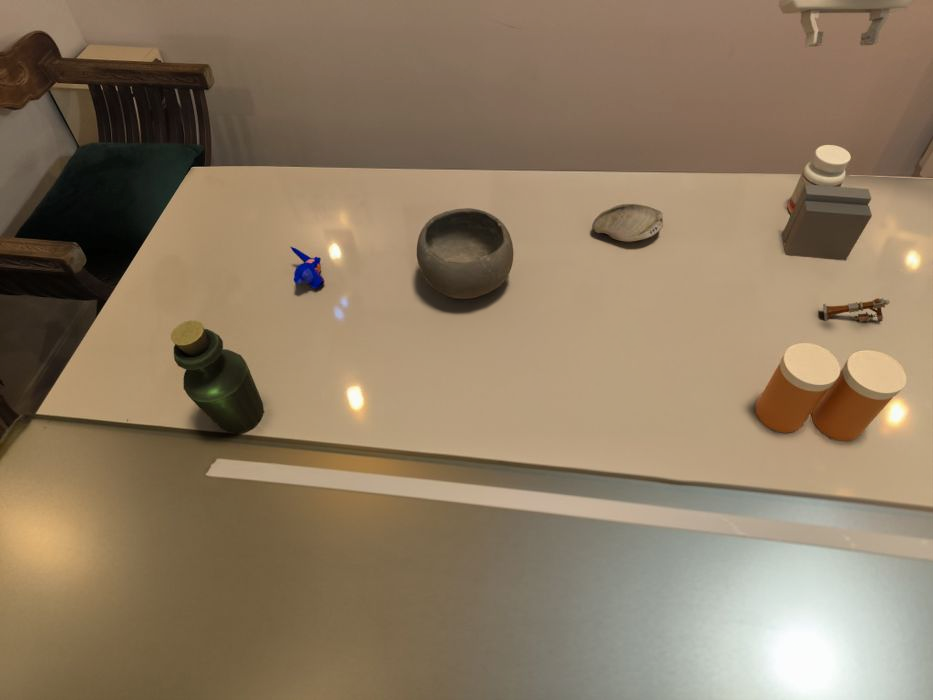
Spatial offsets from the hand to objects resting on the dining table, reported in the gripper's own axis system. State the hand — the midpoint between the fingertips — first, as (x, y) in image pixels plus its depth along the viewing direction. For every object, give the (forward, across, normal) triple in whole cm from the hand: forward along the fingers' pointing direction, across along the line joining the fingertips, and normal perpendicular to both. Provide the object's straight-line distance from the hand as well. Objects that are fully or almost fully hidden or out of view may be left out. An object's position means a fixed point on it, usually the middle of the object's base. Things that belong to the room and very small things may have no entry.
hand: (841, 45), depth 92 cm
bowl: (+33, -58, +7) cm, 67 cm away
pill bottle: (+25, +2, +5) cm, 26 cm away
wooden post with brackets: (+39, -5, -14) cm, 41 cm away
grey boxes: (+30, -2, -2) cm, 30 cm away
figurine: (+32, -83, +14) cm, 90 cm away
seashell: (+27, -29, +9) cm, 41 cm away
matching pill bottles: (+48, -19, -25) cm, 57 cm away
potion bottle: (+47, -93, -6) cm, 104 cm away
